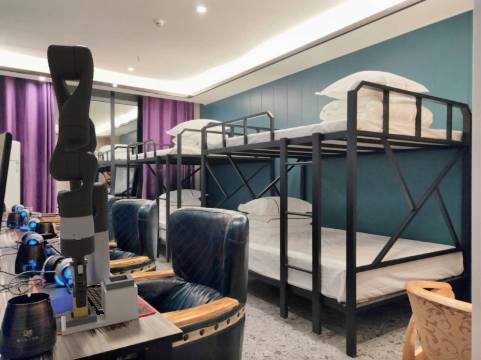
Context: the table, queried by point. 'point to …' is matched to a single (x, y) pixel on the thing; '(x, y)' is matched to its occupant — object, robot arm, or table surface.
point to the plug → (79, 311)
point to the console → (107, 306)
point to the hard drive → (62, 304)
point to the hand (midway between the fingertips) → (80, 301)
